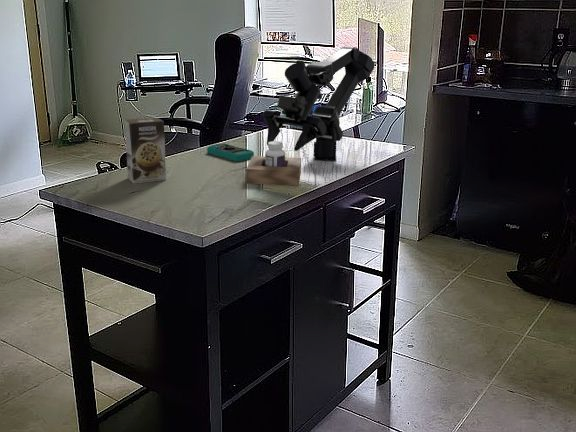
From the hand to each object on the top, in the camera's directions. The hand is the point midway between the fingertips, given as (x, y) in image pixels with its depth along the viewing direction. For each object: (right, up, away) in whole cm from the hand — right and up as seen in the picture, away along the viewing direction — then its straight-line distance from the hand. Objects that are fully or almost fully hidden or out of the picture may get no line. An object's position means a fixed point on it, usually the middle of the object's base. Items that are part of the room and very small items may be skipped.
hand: (281, 147), depth 176 cm
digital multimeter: (-16, -1, +22) cm, 28 cm away
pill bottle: (-2, -8, 0) cm, 8 cm away
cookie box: (-36, -9, -4) cm, 37 cm away
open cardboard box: (-2, -8, 0) cm, 8 cm away
